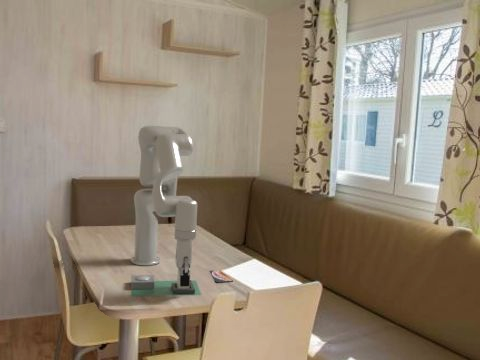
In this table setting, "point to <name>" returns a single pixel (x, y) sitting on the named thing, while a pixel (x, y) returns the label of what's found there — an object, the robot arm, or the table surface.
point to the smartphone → (220, 277)
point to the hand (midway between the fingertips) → (183, 281)
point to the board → (159, 287)
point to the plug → (179, 280)
